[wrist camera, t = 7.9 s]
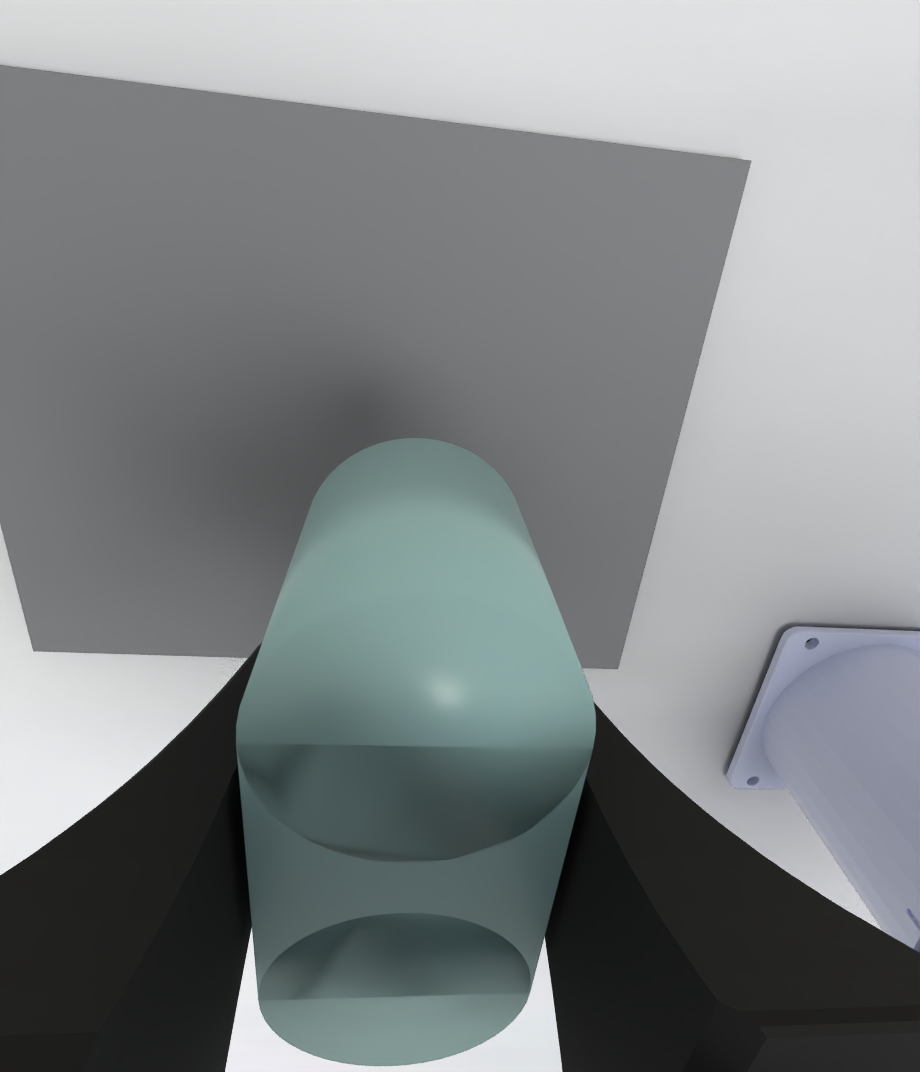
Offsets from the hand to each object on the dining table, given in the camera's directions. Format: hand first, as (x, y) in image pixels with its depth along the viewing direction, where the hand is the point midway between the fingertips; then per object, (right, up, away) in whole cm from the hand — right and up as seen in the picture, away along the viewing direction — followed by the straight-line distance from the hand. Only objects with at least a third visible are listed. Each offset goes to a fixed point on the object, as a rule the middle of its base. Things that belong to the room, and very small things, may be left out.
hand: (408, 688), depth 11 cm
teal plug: (0, -1, +2) cm, 2 cm away
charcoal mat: (-2, +6, +7) cm, 9 cm away
